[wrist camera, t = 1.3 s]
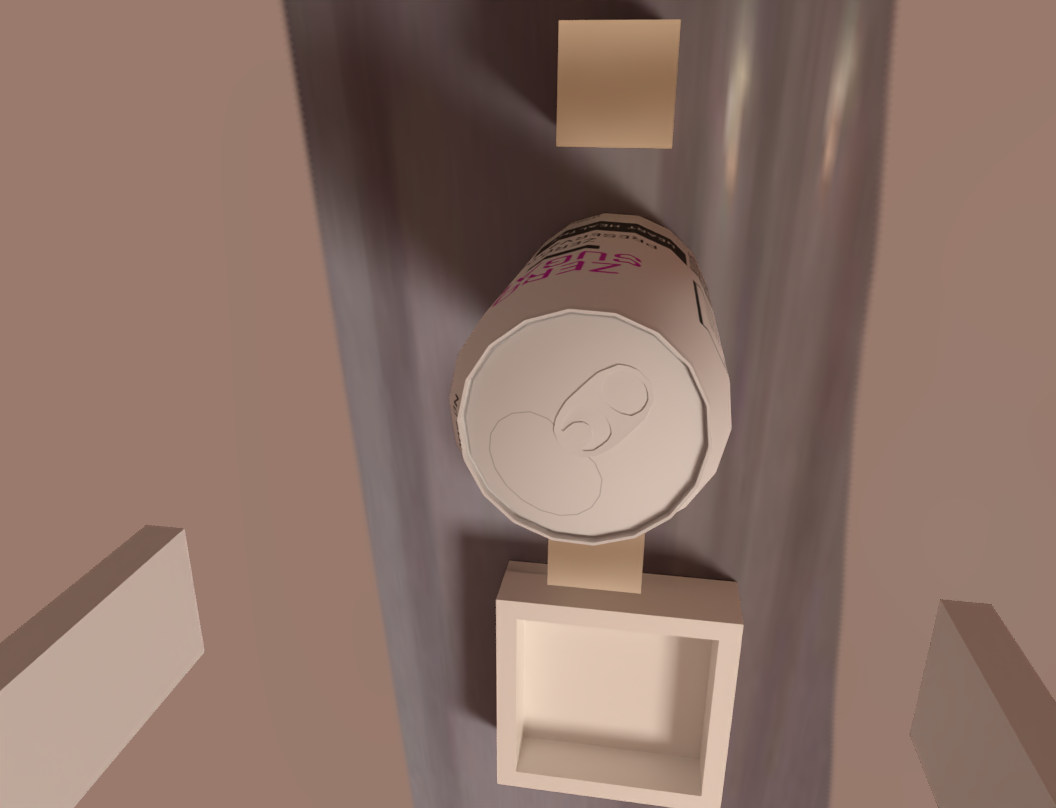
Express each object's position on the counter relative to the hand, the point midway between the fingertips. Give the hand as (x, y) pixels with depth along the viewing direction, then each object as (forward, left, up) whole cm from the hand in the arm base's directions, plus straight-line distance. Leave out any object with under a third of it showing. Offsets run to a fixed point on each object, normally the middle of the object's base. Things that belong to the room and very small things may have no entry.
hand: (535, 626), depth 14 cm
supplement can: (0, 0, -24) cm, 24 cm away
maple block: (-9, 0, -24) cm, 25 cm away
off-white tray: (+19, +1, -23) cm, 30 cm away
